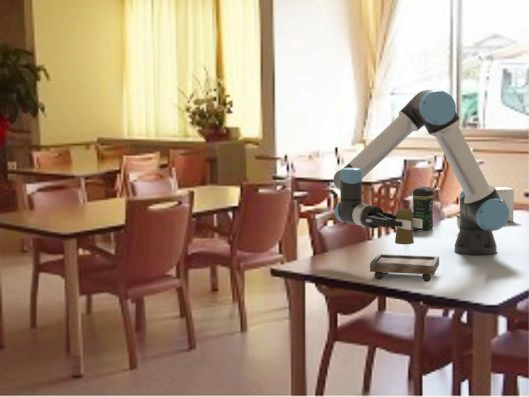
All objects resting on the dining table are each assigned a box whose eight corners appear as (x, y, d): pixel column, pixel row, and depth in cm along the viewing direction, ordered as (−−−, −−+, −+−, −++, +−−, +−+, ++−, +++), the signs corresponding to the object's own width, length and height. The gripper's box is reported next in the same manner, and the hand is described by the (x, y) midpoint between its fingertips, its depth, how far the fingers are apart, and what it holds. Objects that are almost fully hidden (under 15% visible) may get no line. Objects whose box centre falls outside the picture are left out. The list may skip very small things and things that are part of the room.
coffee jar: (427, 231, 349) (427, 188, 347) (410, 230, 353) (410, 187, 351) (435, 228, 357) (435, 186, 355) (418, 227, 361) (418, 185, 359)
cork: (392, 241, 267) (392, 207, 265) (411, 240, 267) (411, 207, 266) (397, 244, 261) (397, 210, 259) (416, 244, 261) (416, 209, 260)
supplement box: (495, 222, 370) (495, 189, 368) (486, 219, 378) (486, 187, 376) (514, 221, 371) (514, 188, 369) (504, 218, 380) (504, 186, 378)
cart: (438, 273, 269) (439, 256, 268) (433, 283, 255) (433, 265, 254) (378, 270, 275) (378, 254, 275) (370, 280, 261) (370, 263, 260)
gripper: (388, 224, 283) (435, 233, 263) (348, 229, 274) (395, 239, 255) (388, 203, 282) (436, 210, 262) (348, 207, 273) (395, 215, 254)
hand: (415, 224), depth 259 cm, fingers closed on cork, 4 cm apart
